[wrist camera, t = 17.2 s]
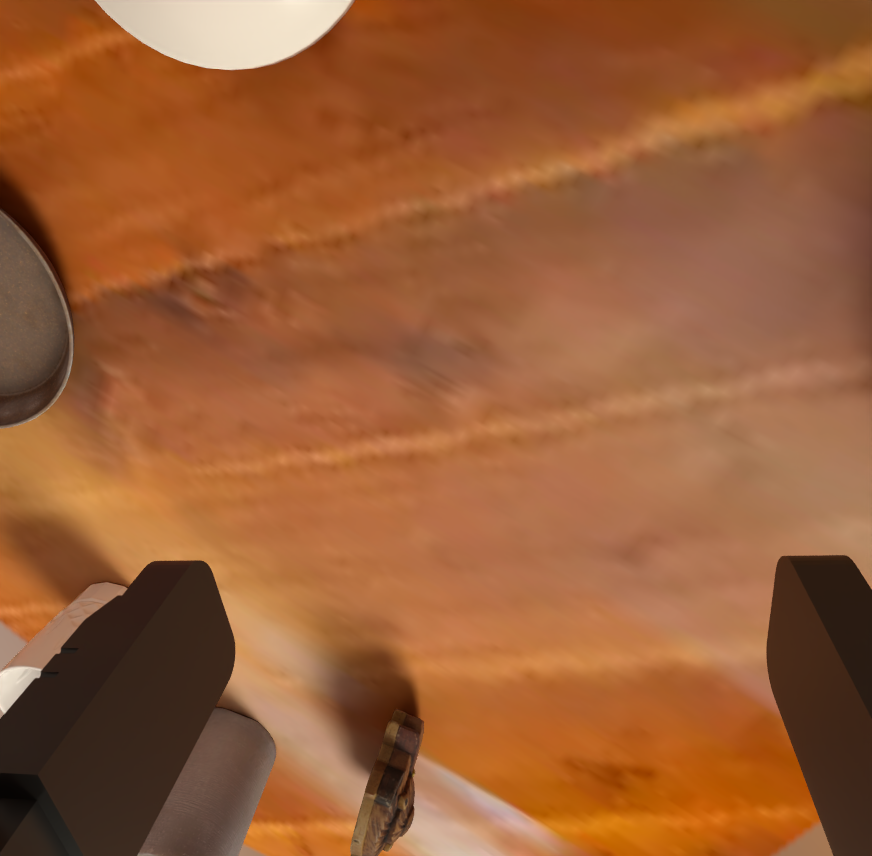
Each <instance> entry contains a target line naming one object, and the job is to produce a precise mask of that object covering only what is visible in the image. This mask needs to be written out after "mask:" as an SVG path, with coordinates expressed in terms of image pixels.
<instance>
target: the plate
mask: <svg viewBox="0 0 872 856" xmlns="http://www.w3.org/2000/svg"><path fill="white" fill-rule="evenodd" d="M95 1H96V2H97V3H98V4H99V5H100V7H101V8H102V9H103V10H104V11H105V12H106V13H107V14H108V15H109V16H110V17H111V18H112V19H114V20H115V21H116V22H117V23H118V24H119V25H120V26H121V27H122V28H123V29H125V30H126V31H127V32H129V33H130V34H132V35H133V36H134V37H136V38H137V39H138V40H140V41H141V42H143V43H144V44H146V45H148V46H149V47H151V48H153V49H155V50H157V51H159V52H160V53H162V54H164V55H166V56H169V57H171V58H174V59H177V60H179V61H182V62H184V63H188V64H192V65H196V66H201V67H205V68H214V69H225V70H241V69H255V68H260V67H264V66H268V65H273V64H276V63H279V62H281V61H284V60H286V59H289V58H291V57H294V56H296V55H297V54H299V53H301V52H302V51H304V50H306V49H307V48H309V47H311V46H312V45H314V44H315V43H316V42H317V41H319V40H320V39H321V38H322V37H323V36H325V35H326V34H327V33H328V32H329V31H331V30H332V28H333V27H334V26H335V25H336V24H337V23H338V22H339V21H340V20H341V18H342V17H343V16H344V15H345V14H346V13H347V11H348V10H349V9H350V7H351V6H352V4H353V3H354V1H355V0H95Z"/></svg>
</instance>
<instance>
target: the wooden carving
mask: <svg viewBox="0 0 872 856" xmlns="http://www.w3.org/2000/svg"><path fill="white" fill-rule="evenodd" d="M423 733H424V722H423V721H422V720H421V719H419V718H416V717H413V716H410V715H408V714H407V713H406V712H403V711H401V710H398V709H395V711H394V713H393V716H392V720H390V721H389V722H388V724H387V728H386V731H385V735H384V739H383V743H382V746H381V749H380V752H379V755H378V758H377V760H376V762H375V765H374V767H373V770H372V772H371V775H370V777H369V780H368V783H367V786H366V789H365V794H364V797H363V801H362V804H361V808H360V811H359V815H358V819H357V822H356V826H355V829H354V834H353V837H352V843H351V856H378V855H379V854H380V852H381V851H382V850H384V851H386V852H387V851H389V850H390V849H391V847H392V846H393V843H394V842H395V841H396V840H397V839H398V838H399V837H402V836H403V835H404V834H405V833H406V832H407V831H408V829H409V828H410V826H411V824H412V821H413V817H414V806H413V805H414V796H415V791H414V781H413V777H414V775H415V770H414V766H415V763H416V760H417V756H418V753H419V749H420V746H421V742H422V738H423Z"/></svg>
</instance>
